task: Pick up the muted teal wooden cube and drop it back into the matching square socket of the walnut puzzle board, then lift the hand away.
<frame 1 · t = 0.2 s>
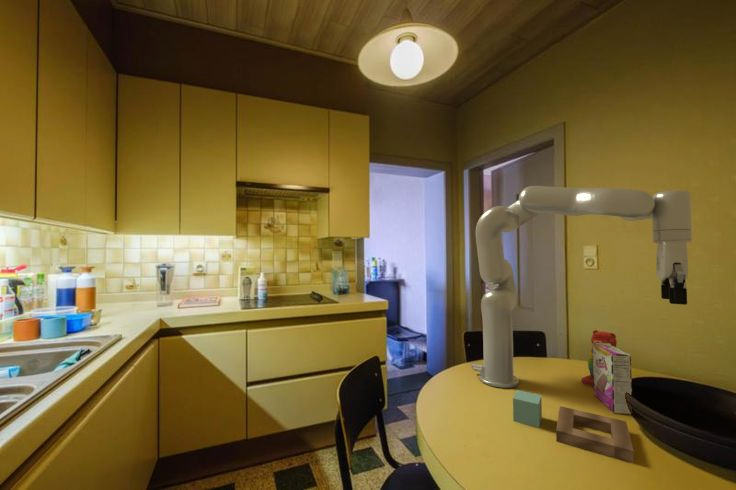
hand: (673, 301, 84), 31 cm above the table, tool pointing down, fingers open, 9 cm apart
teal cube: (527, 419, 84), on the table
walnut puzzle board: (592, 436, 76), on the table
stacking bear: (604, 386, 104), on the table
candy bar box: (611, 405, 91), on the table
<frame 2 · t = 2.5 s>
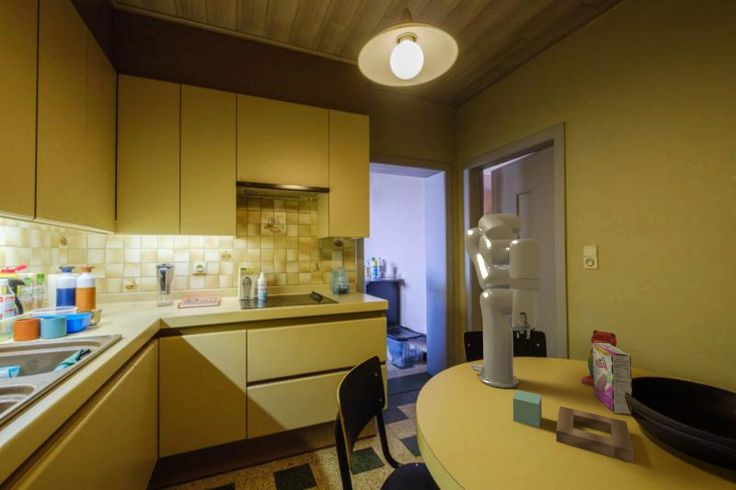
hand: (526, 349, 84), 19 cm above the table, tool pointing down, fingers open, 9 cm apart
nothing on the table moved.
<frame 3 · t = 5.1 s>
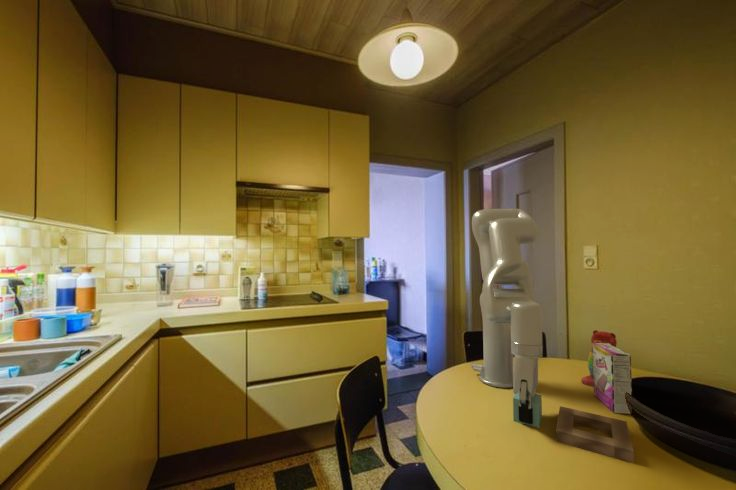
hand: (527, 416, 84), 1 cm above the table, tool pointing down, fingers closed on teal cube, 6 cm apart
teal cube: (527, 419, 84), on the table, touching gripper
everything else where it was.
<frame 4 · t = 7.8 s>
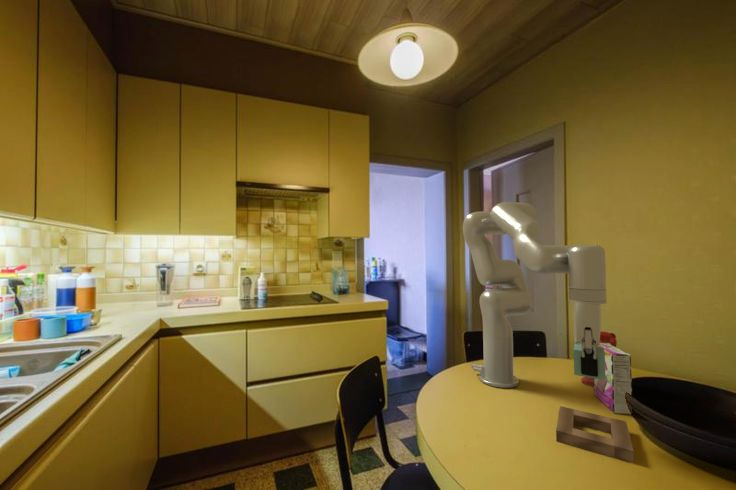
hand: (589, 370, 76), 16 cm above the table, tool pointing down, fingers closed on teal cube, 6 cm apart
teal cube: (589, 373, 76), point 15 cm above the table, touching gripper
everything else where it was.
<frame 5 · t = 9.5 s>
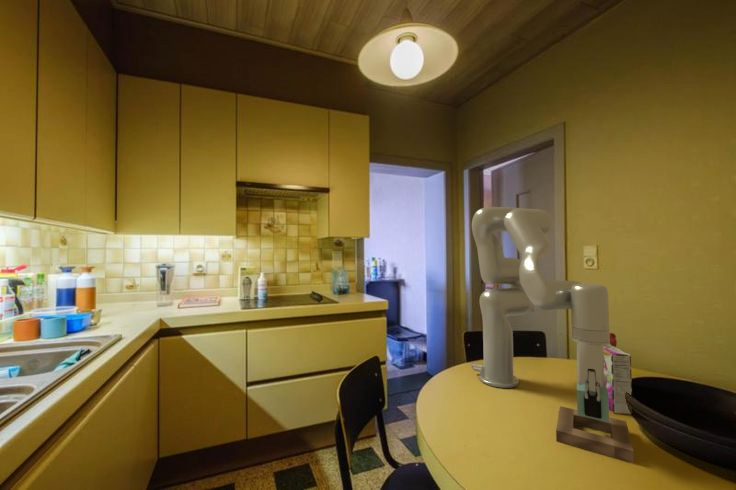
hand: (592, 409, 76), 6 cm above the table, tool pointing down, fingers closed on teal cube, 6 cm apart
teal cube: (592, 413, 76), point 6 cm above the table, touching gripper
everything else where it was.
when the fingers open (4 cm above the table, at t = 10.8 s): teal cube drops 4 cm, resting in walnut puzzle board.
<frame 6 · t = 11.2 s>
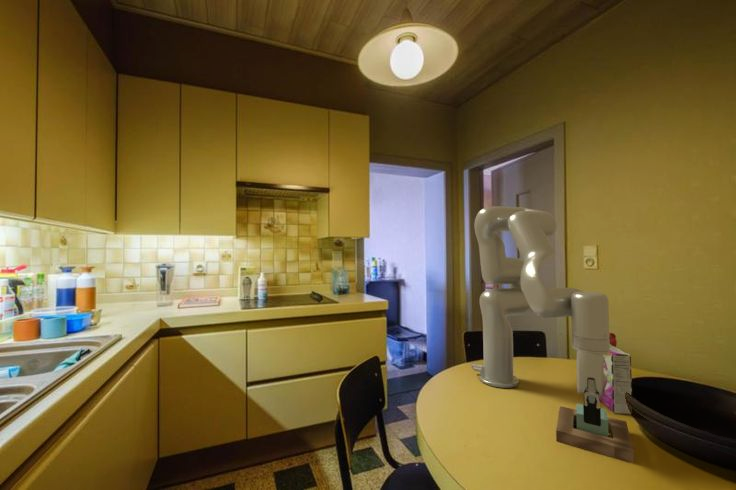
hand: (591, 414, 76), 5 cm above the table, tool pointing down, fingers open, 9 cm apart
teal cube: (592, 436, 76), resting in walnut puzzle board
everything else where it was.
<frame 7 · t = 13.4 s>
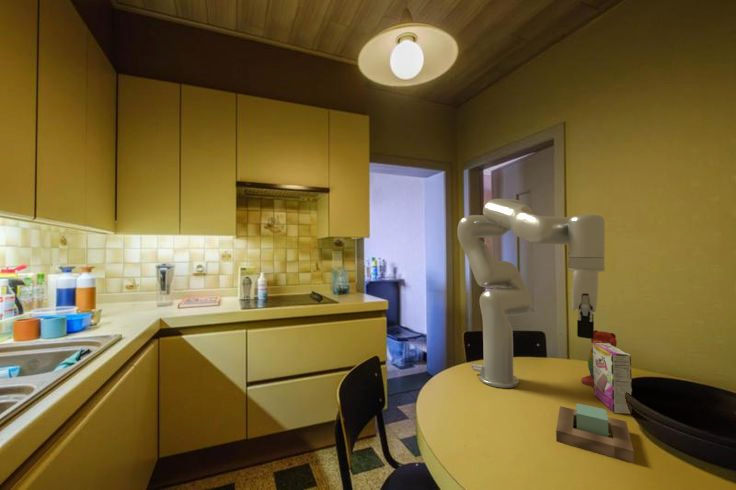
hand: (585, 333, 79), 24 cm above the table, tool pointing down, fingers open, 9 cm apart
nothing on the table moved.
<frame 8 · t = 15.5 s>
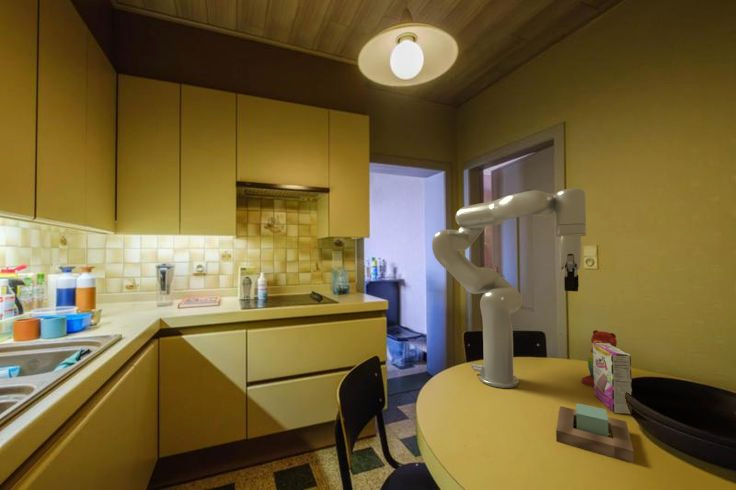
hand: (571, 289, 93), 33 cm above the table, tool pointing down, fingers open, 9 cm apart
nothing on the table moved.
at the end: teal cube 0.0 cm off-centre on the walnut puzzle board, point 0.0 cm above the walnut puzzle board's base; teal cube tilted 0°; the gripper is holding nothing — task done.
